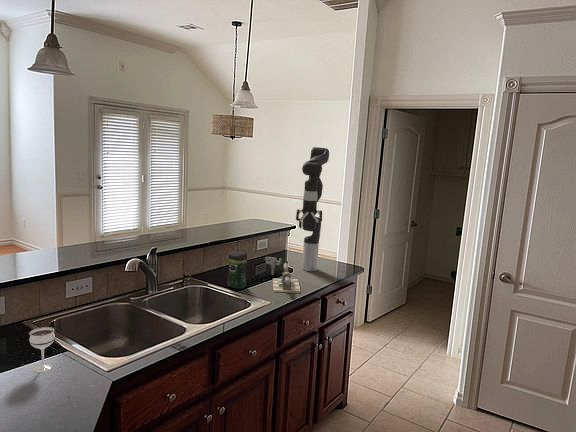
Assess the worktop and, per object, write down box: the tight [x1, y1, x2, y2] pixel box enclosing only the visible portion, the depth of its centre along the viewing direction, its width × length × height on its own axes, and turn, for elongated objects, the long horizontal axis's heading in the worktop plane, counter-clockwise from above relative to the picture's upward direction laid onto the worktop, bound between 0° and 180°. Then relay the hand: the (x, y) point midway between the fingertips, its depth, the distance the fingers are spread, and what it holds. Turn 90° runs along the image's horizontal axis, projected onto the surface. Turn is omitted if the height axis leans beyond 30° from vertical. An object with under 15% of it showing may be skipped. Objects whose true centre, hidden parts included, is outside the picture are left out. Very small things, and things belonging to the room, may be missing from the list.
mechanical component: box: [264, 256, 283, 276], centre depth 242 cm, size 3×10×10 cm, turn 78°
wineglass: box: [28, 326, 56, 373], centre depth 128 cm, size 7×7×12 cm
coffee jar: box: [226, 250, 248, 290], centre depth 216 cm, size 10×8×19 cm
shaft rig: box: [272, 262, 301, 294], centre depth 222 cm, size 29×14×9 cm, turn 3°
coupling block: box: [281, 271, 292, 283], centre depth 222 cm, size 4×4×7 cm
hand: (308, 228), depth 229 cm, fingers open, 8 cm apart
